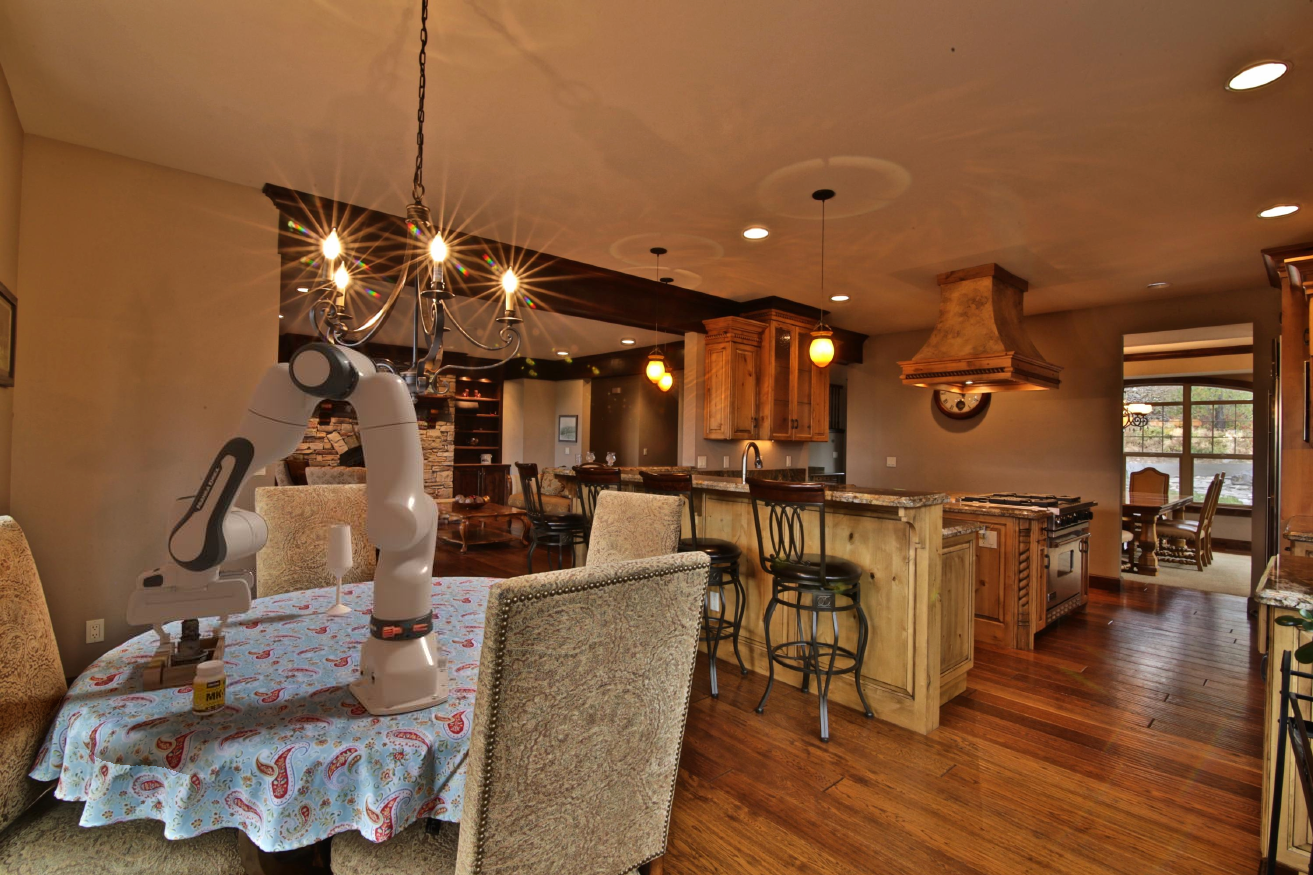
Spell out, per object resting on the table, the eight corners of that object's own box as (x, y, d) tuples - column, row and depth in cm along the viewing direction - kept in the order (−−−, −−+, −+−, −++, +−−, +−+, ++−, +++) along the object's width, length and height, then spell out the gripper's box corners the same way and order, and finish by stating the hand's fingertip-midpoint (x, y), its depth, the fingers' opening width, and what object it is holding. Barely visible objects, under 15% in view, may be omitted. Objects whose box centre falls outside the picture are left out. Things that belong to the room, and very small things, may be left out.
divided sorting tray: (216, 679, 122) (216, 660, 122) (142, 691, 116) (143, 670, 116) (224, 651, 137) (225, 634, 137) (160, 659, 131) (160, 641, 131)
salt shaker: (166, 674, 122) (166, 615, 122) (199, 665, 127) (199, 608, 127) (181, 679, 119) (180, 619, 119) (214, 669, 125) (213, 611, 125)
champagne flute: (350, 606, 174) (352, 523, 174) (352, 612, 168) (355, 527, 168) (323, 609, 170) (326, 524, 170) (325, 615, 165) (328, 528, 165)
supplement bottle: (205, 718, 106) (207, 670, 106) (185, 713, 107) (187, 667, 107) (231, 706, 111) (232, 660, 111) (212, 702, 112) (213, 657, 112)
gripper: (254, 565, 131) (253, 628, 131) (132, 574, 121) (130, 642, 121) (253, 571, 126) (251, 637, 126) (125, 581, 115) (123, 652, 115)
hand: (191, 639), depth 123 cm, fingers open, 7 cm apart
